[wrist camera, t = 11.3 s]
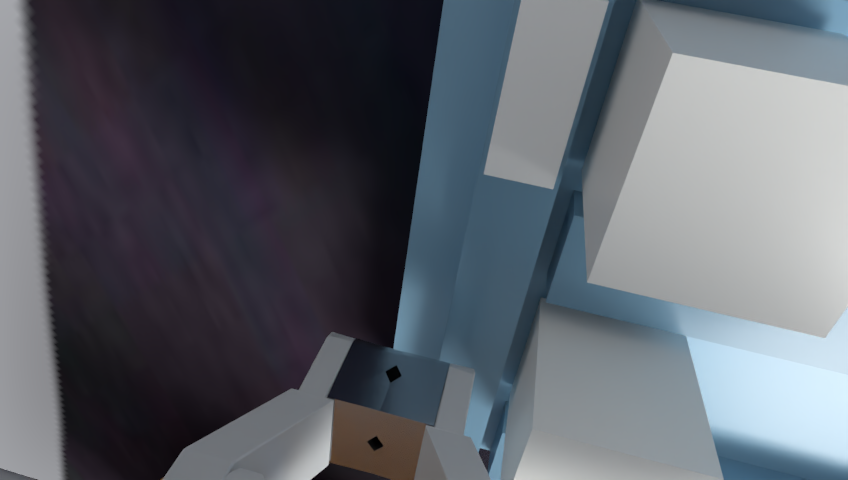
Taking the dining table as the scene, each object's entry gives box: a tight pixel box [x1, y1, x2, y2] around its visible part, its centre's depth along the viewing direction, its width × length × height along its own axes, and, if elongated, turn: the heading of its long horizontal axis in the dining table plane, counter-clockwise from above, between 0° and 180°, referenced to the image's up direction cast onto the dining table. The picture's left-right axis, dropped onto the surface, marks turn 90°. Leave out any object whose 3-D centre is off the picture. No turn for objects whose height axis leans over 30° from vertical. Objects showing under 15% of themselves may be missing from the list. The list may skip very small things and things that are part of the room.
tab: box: [500, 298, 724, 480], centre depth 11 cm, size 3×3×4 cm
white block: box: [582, 0, 848, 338], centre depth 8 cm, size 3×3×4 cm
